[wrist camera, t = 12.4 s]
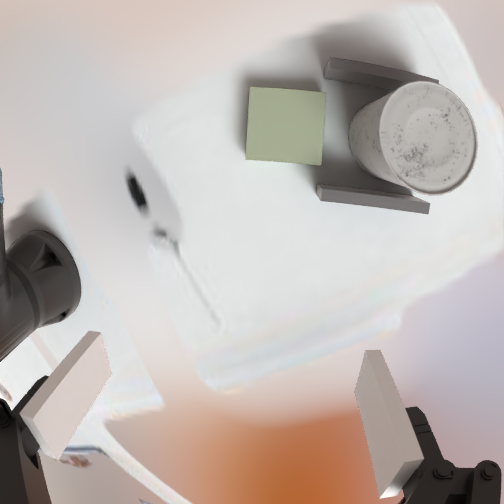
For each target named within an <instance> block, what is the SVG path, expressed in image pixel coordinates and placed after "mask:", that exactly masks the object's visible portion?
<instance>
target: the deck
mask: <svg viewBox="0 0 504 504" xmlns="http://www.w3.org/2000/svg"><path fill="white" fill-rule="evenodd" d="M325 103H326V93H324V92H316V91H306V90H295V89H281V88H264V87H250V92H249V108H248V125H247V142H246V159H245V160H260V161H275V162H287V163H299V164H309V165H319V166H321V163H322V150H323V136H324V121H325Z"/></svg>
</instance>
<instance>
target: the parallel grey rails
mask: <svg viewBox="0 0 504 504" xmlns="http://www.w3.org/2000/svg"><path fill="white" fill-rule="evenodd" d="M324 79H331V80H338V81H345V82H352V83H358V84H364V85H370V86H375V87H381V88H386V89H390V90H396V89H397V88H399V87H401V86H403V85H405V84H407V83H410V82H415V81H431V82H434V83H437V84H439V80H436V79H433V78H429V77H425V76H422V75H418V74H414V73H410V72H406V71H402V70H398V69H394V68H389V67H384V66H379V65H374V64H369V63H364V62H358V61H352V60H346V59H339V58H331V57H330V59H329V61H328V63H327V65H326V67H325V69H324ZM316 194H317V196H318V197H319V199H320V200H321V201H327V202H336V203H345V204H354V205H363V206H371V207H379V208H387V209H394V210H402V211H409V212H416V213H423V214H428V213H429V207H430V203H428V202H426V201H423V200H421V199H419V198H416V197H414V196H409V195H403V194H396V193H389V192H382V191H375V190H367V189H359V188H351V187H343V186H334V185H325V184H317V191H316Z"/></svg>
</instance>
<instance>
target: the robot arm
mask: <svg viewBox="0 0 504 504" xmlns="http://www.w3.org/2000/svg"><path fill="white" fill-rule="evenodd" d="M3 203H4V198H3V194H2V172H1V169H0V362H1V361H2V360H3V359H4V358H5V357H6V356H7V355H8V354H9V353H10V352H11V351H12V350H14V349H15V348H16V347H17V346H18V345H19V344H20V343H21V342H22V341H23V340H24V339H25V338H27V337H28V336H29V335H30V334H31V333H32V332H33V331H34V330H36V329H37V328H40V327H44V326H47V325H51V324H54V323H57V322H61V321H63V320H64V319H66V318H67V317H68V316H69V315H71V314H72V313H73V312H74V311H75V310H76V308H77V306H78V304H79V301H80V297H81V283H80V277H79V273H78V270H77V267H76V265H75V263H74V260H73V258H72V257H71V255H70V253H69V252H68V250H67V249H66V247H65V246H64V245H63V244H62V243H61V242H60V241H59V240H58V239H57V238H56V237H54V236H53V235H51V234H50V233H48V232H45V231H41V230H34V231H31V232H28V233H26V234H24V235H22V236H20V237H19V238H18V239H17V240H16V241H15V242H14V243H13V244H12V245H11V246H10V247H9V249H8V250H7V251H5V240H4V225H3ZM111 374H112V372H111V368H110V365H109V361H108V357H107V354H106V350H105V346H104V342H103V338H102V334H101V333H100V332H94V331H88V333H87V334H86V335H85V336H84V337H83V338H82V339H81V340H80V342H79V343H78V344H77V345H76V346H75V347H74V348H73V349H72V351H71V352H70V353H69V354H68V355H67V356H66V357H65V359H64V360H63V361H62V362H61V363H60V364H59V366H58V367H57V368H56V369H55V370H54V372H53V373H52V374H51V375H50V376H46V375H45V376H44V377H42V378H41V379H39V380H37V381H36V383H35V384H34V385H33V386H32V387H31V389H30V390H29V391H28V392H27V394H25V396H24V397H23V398H22V399H21V400H20V402H19V403H18V404H17V405H16V407H15V408H14V409H13V410H12V411H11V409H10V407H9V405H8V404H7V402H6V401H5V400H4V399H1V398H0V504H52V503H51V500H50V496H49V493H48V489H47V485H46V481H45V478H44V473H43V469H42V465H41V460H40V456H39V453H38V452H37V451H38V449H39V448H40V447H41V449H42V450H43V452H44V453H45V454H46V455H48V456H50V457H52V458H55V459H57V460H59V458H60V456H61V455H62V453H63V451H64V449H65V448H66V446H67V444H68V443H69V441H70V439H71V438H72V436H73V434H74V433H75V431H76V430H77V428H78V426H79V425H80V423H81V421H82V420H83V418H84V417H85V415H86V413H87V412H88V410H89V409H90V407H91V405H92V404H93V402H94V401H95V399H96V397H97V396H98V394H99V393H100V391H101V390H102V388H103V386H104V385H105V383H106V382H107V380H108V379H109V377H110V376H111ZM355 396H356V400H357V404H358V408H359V411H360V415H361V419H362V423H363V427H364V432H365V436H366V440H367V444H368V448H369V452H370V457H371V461H372V466H373V470H374V475H375V479H376V484H377V488H378V494H379V498H385V497H391V496H396V495H398V494H399V493H400V491H401V490H402V489H403V492H404V497H403V499H402V500H401V501H400V502H399V503H398V504H500V497H501V469H500V468H499V466H498V464H496V463H495V462H493V461H489V460H485V461H482V462H480V463H479V464H478V465H477V466H476V467H475V468H458V467H455V466H454V465H453V463H451V462H450V461H448V460H444V458H443V456H442V454H441V451H440V449H439V447H438V444H437V442H436V439H435V437H434V435H433V432H431V431H432V430H431V428H430V425H428V421H427V419H426V416H425V414H424V413H423V412H422V411H421V410H420V409H419V408H418V407H409V408H405V407H404V404H403V402H402V399H401V397H400V395H399V392H398V390H397V387H396V385H395V383H394V380H393V378H392V376H391V374H390V371H389V369H388V367H387V364H386V362H385V360H384V357H383V355H382V353H381V351H380V350H365V354H364V358H363V362H362V366H361V370H360V374H359V377H358V381H357V385H356V388H355Z"/></svg>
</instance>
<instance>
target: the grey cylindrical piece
mask: <svg viewBox="0 0 504 504" xmlns="http://www.w3.org/2000/svg"><path fill="white" fill-rule="evenodd" d="M348 138H349V146H350V149H351V152H352V155H353V157H354V159H355V160H356V162H357V163H358V165H359V166H360V167H361V168H362V169H363V170H364V171H365V172H367V173H368V174H370V175H371V176H374V177H376V178H378V179H383V180H386V181H389V182H392V183H395V184H398V185H401V186H404V187H407V188H409V189H411V190H413V191H415V192H417V193H420V194H424V195H429V196H436V195H443V194H446V193H450V192H452V191H453V190H455V189H457V188H458V187H460V186H461V185H462V184H463V183H464V182H465V180H466V179H467V178H468V177H469V175H470V173H471V171H472V170H473V167H474V164H475V161H476V158H477V149H478V141H477V132H476V128H475V125H474V121H473V119H472V117H471V115H470V113H469V111H468V109H467V107H466V106H465V105H464V103H463V102H462V101H461V99H460V98H458V97H457V96H456V95H455V94H454V93H453V92H452V91H450V90H449V89H447V88H445V87H444V86H442V85H440V84H437V83H434V82H431V81H415V82H410V83H407V84H405V85H403V86H401V87H399V88H397V89H396V90H395V91H393V92H391V93H389V94H387V95H386V96H384V97H382V98H380V99H378V100H376V101H374V102H370V103H368V104H367V105H365V106H363V107H362V108H361V109H360V110H359V111H358V112H357V113H356V114H355V116H354V117H353V119H352V122H351V125H350V127H349V136H348Z"/></svg>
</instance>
